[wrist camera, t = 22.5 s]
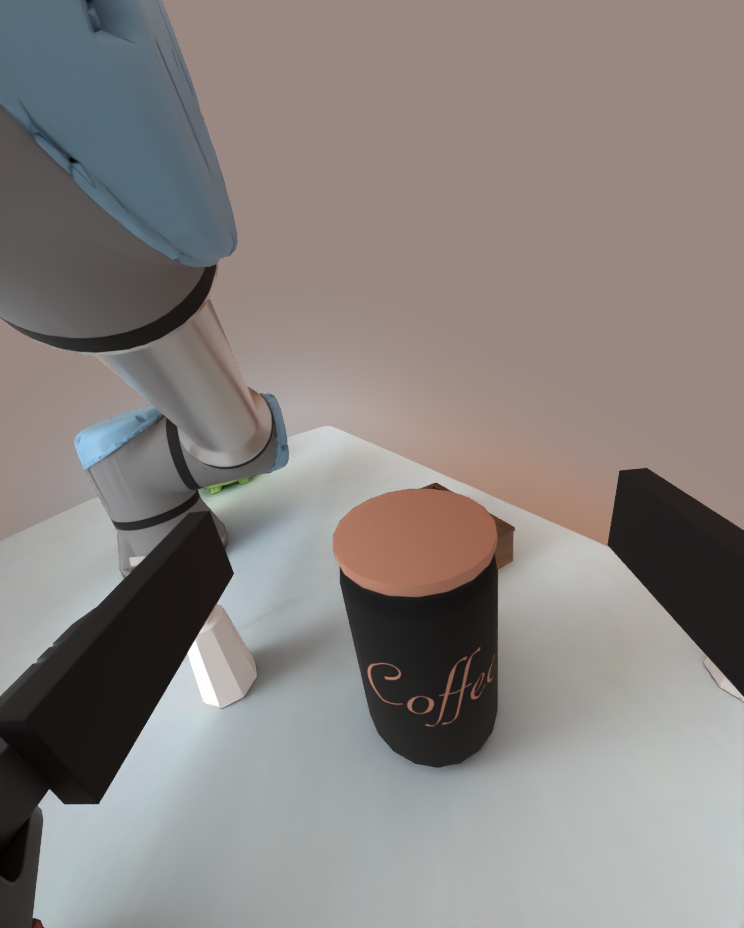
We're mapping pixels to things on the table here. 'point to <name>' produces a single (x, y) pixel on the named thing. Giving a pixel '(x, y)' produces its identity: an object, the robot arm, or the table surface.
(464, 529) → the coffee jar
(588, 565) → the table surface
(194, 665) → the pepper shaker
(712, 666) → the salt shaker
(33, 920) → the croissant
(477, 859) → the table surface
